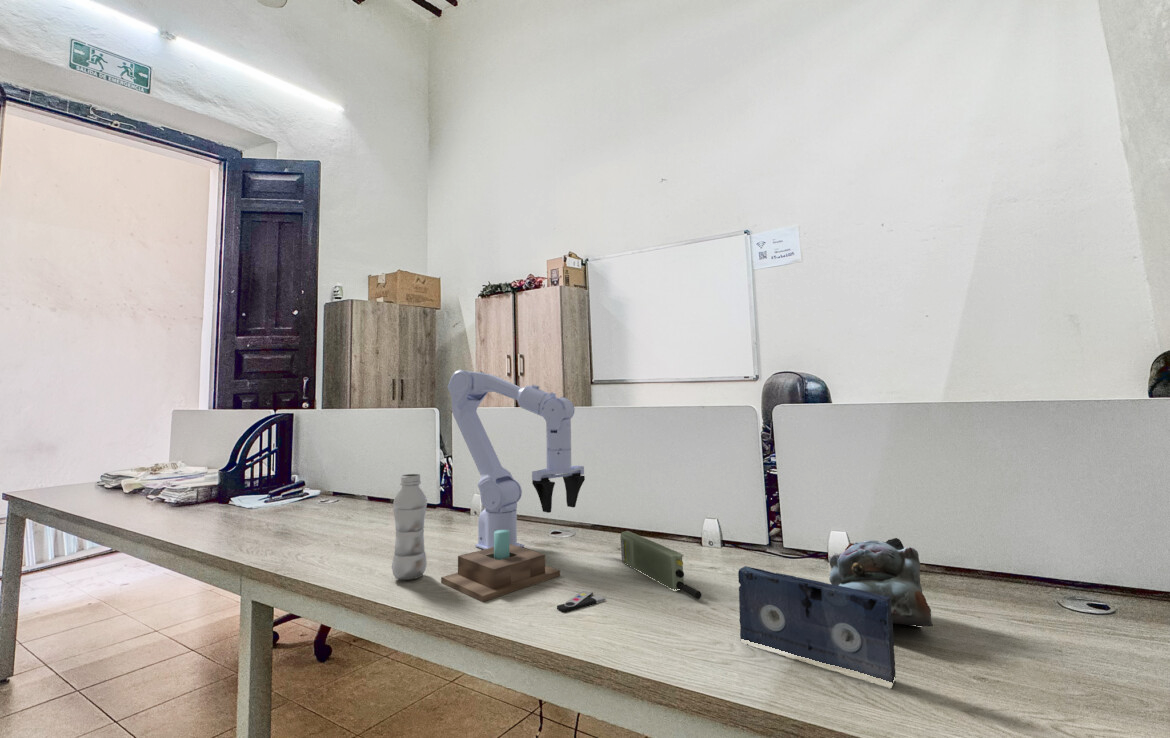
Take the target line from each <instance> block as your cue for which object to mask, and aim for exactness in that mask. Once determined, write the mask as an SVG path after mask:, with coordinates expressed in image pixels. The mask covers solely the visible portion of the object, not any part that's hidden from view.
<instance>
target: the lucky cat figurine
mask: <svg viewBox="0 0 1170 738" xmlns="http://www.w3.org/2000/svg"><path fill="white" fill-rule="evenodd" d="M828 563H829V566H830V571H829V575H828V576H829V579H828V580H829V583H830V584H832V585H837V586H843V587H848V588H852V589H858V590H863V591H867V592H871V593H875V594H879V595H885V596H891V618H892V622H893V624H898V625H905V624H906V625H905V626H909V625H916V626H923V627H933V626H934V625H933V622H932V609H931V607H930V606H929V604H928V602H927V599H926V597H925V594H924V593H923V589H922V585H921V573H920V567H921V561H920V558H919V552H918V550H917V549H915V548H914V547H911V546H909V547H904V545H903V542H902V541H901V540H900V539H899V538H898V537H893V538H891V539H888V540H886V541H882V540H881V541H879V540H875V539H873V540H872V539H866V540H864V541H857V542H853V543H849V544H848V545H847V546H846V548H845V550H844V551H843V552H841V553H837V552H834V553H833V555H832V556H831V555H829V556H828Z"/></svg>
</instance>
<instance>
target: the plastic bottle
mask: <svg viewBox="0 0 1170 738" xmlns="http://www.w3.org/2000/svg"><path fill="white" fill-rule="evenodd" d="M421 483H422V482H421V474H420V473H407V474H402V475H401V476H400V486H401V488H400V489H399V491H398V492H397V494H396V495H395V497H394V499H393V502H392V504H393V506H392V507H393V515H394V516H393V517H394V523H395V525H394V526H395V528H394V529H395V543H394V551H393V554H394V555H393V556H392V557H393V558H392V562H391V569H392V570H391V571H392V575H393V576H394V578H395V579H396V580H401V581H403V580H404V581H406V580H408V581H409V580H414V579H418V578H420V577H422V576H423V575H424V573H425V572H426V570H427V569H426V568H427V564H428V563H427V555H426V550H425V537H424V535H425V534H424V533H425V530H424V529H425V519H426V513H427V505H428V500H427V496H426V495H425V493H424V491H423V490H422V488H421V487H420V485H421Z"/></svg>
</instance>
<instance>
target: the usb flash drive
mask: <svg viewBox="0 0 1170 738" xmlns="http://www.w3.org/2000/svg"><path fill="white" fill-rule="evenodd" d="M604 600H606V597H605V596H602V595H600V594H597V595H594V593H593V591H586V590H581V591H579V592H578V593H577V594H576V595H575V594H574V596H573V597H572V598H570V599H569V600H567V601H566V602H564V603H562V604H559V605H556V610H557V611H559V612H560V613H563V614H566V613H569V612H572V611H577V610H580V609H583V608H587V606H588V607H591V606H594V604H595V605H597V604H598V603H597V602H599V603H602V602H601V601H603V602H605V601H604ZM590 605H591V606H590Z"/></svg>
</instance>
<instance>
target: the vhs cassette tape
mask: <svg viewBox="0 0 1170 738" xmlns="http://www.w3.org/2000/svg"><path fill="white" fill-rule="evenodd" d="M737 572H738V584H739V586H738V602H739V603H738V604H739V607H738V608H739V610H738V611H739V626H740V628H739V632H740V633H739V638H740V640H741V639H744V640H749V641H750V642H754V643H758V644H762V645H765V646H769V647H772V648H775V649H779V650H781V651H785V652H788V653H791V654H794V655H797V656H801V657H805V658H809V659H812V660H815V661H819V662H822V663H826V664H830V665H835V666H839V667H842V668H846V669H850V670H854V671H858V672H860V673H864V674H867V675H870V676H873V677H876V678H881V679H883V680H886V681H889V682H892V683H893V680H894V677H895V678H896V660H895V658H896V657H895V638H894V623H893V622H892V618H891V596H885V595H879V594H875V593H871V592H867V591H863V590H858V589H852V588H848V587H843V586H837V585H832V584H831V583H827V582H823V581H819V580H815V579H809V578H805V577H799V576H798V577H797V576H794V575H789V574H783V573H778V572H772V571H769V570H768V571H767V570H764V569H761V568H757V567H756V568H755V567H752V566H747V565H744V566H743V567H740V568H739V569H738V571H737Z"/></svg>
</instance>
